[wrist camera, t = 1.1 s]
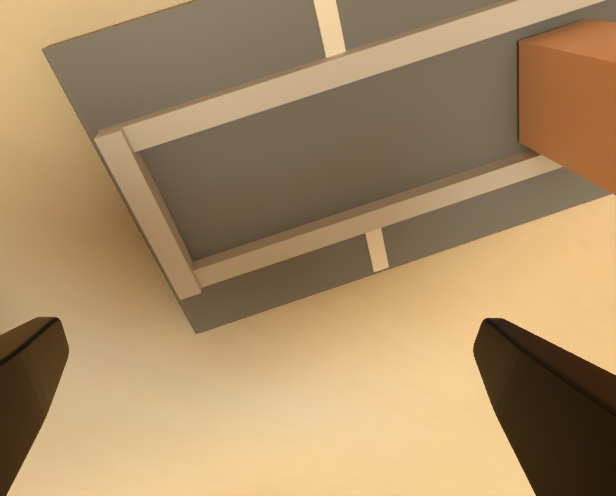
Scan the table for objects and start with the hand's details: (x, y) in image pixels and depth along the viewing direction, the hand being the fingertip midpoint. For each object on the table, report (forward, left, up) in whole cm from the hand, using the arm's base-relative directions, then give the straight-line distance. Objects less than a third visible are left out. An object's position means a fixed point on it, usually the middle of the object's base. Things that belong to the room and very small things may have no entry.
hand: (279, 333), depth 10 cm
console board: (+6, -4, -12) cm, 14 cm away
